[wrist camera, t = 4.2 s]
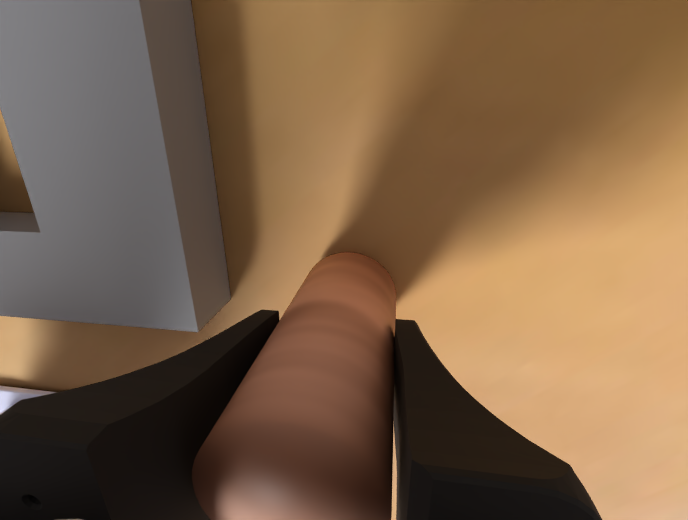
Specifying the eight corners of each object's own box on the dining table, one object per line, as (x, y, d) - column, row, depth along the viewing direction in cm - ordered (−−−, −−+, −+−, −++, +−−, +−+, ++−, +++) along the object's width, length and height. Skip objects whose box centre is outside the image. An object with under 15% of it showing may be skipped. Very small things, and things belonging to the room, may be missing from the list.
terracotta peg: (393, 338, 16) (387, 581, 7) (306, 332, 16) (207, 550, 8) (398, 254, 14) (396, 435, 6) (302, 250, 15) (175, 410, 6)
